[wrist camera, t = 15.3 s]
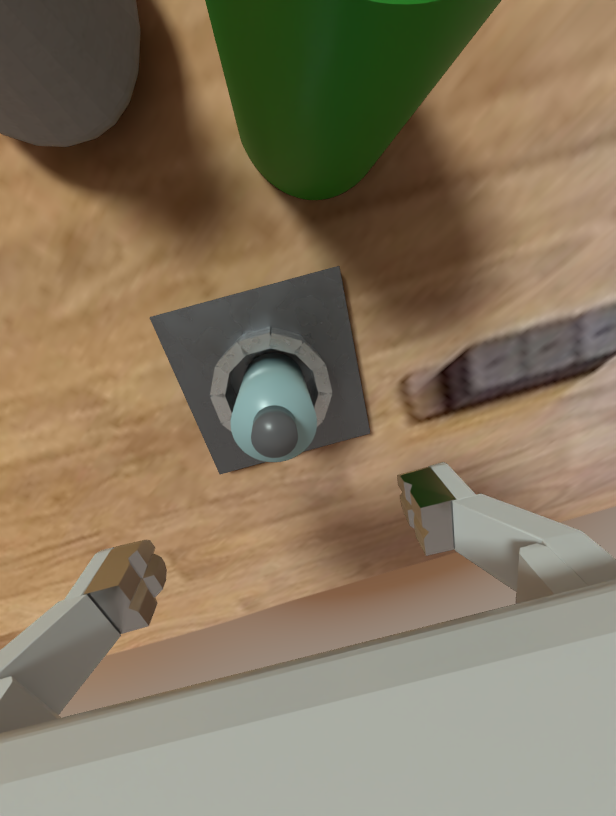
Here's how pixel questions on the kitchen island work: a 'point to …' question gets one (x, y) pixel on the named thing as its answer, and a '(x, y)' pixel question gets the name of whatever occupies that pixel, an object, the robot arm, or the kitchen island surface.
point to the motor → (333, 79)
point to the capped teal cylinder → (273, 410)
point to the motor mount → (260, 334)
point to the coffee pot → (66, 68)
